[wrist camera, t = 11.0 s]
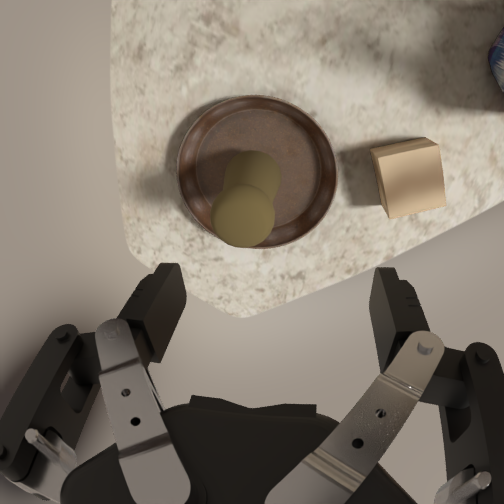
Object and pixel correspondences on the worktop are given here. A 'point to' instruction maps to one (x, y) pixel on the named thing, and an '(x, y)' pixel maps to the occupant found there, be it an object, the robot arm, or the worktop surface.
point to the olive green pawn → (246, 200)
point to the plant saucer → (267, 141)
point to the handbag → (498, 59)
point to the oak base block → (409, 177)
